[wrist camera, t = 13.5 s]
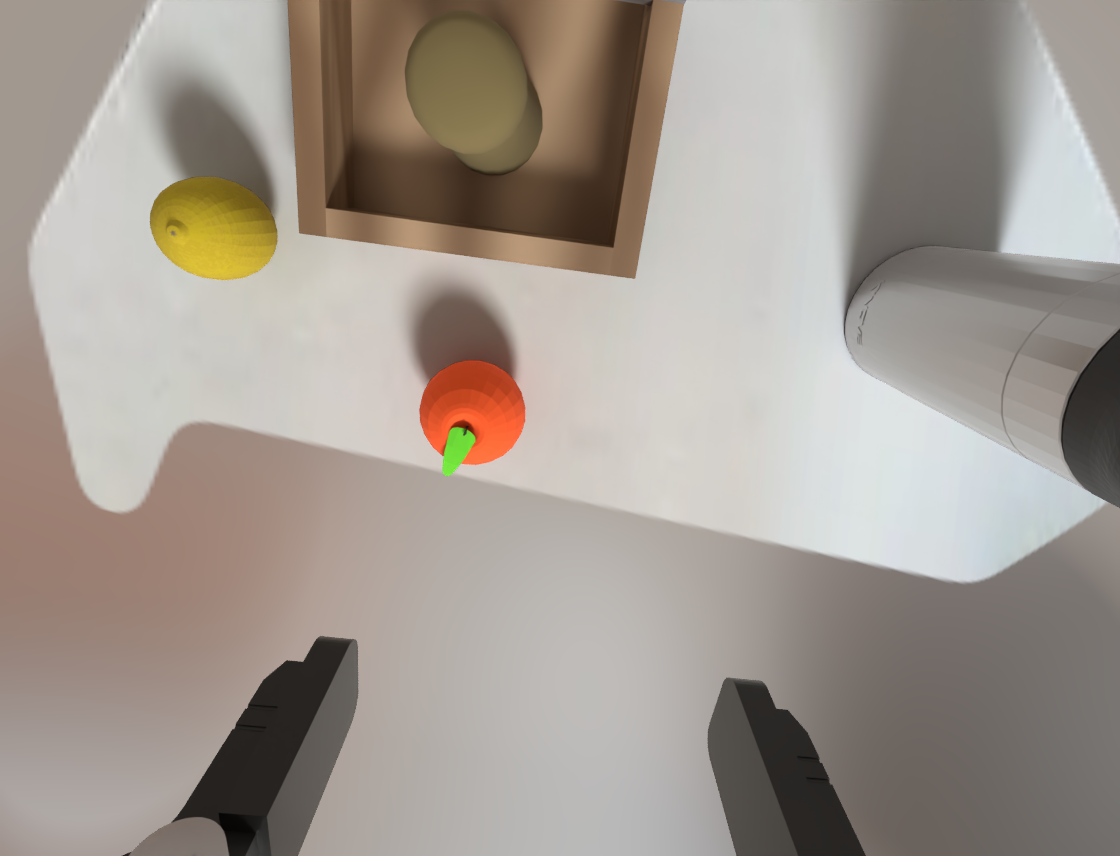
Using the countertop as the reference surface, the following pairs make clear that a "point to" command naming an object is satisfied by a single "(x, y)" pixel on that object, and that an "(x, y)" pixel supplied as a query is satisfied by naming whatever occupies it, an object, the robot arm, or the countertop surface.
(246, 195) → the lemon
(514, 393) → the clementine
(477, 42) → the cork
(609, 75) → the box
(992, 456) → the countertop surface
